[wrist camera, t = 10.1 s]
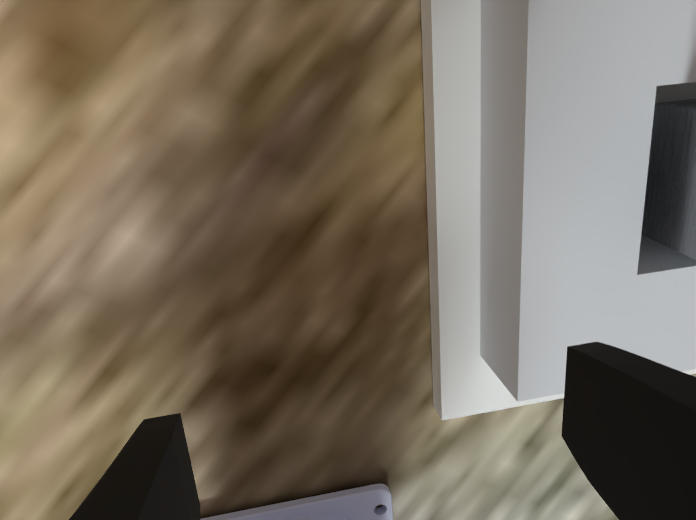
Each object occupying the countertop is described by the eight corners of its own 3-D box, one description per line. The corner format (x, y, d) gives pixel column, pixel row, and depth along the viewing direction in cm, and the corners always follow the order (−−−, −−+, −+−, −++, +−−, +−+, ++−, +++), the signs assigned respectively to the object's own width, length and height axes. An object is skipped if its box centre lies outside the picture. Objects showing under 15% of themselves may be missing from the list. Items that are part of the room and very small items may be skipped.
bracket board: (792, 340, 25) (887, 391, 22) (433, 405, 23) (472, 474, 19) (898, -158, 19) (1060, -206, 15) (416, -138, 17) (470, -188, 13)
